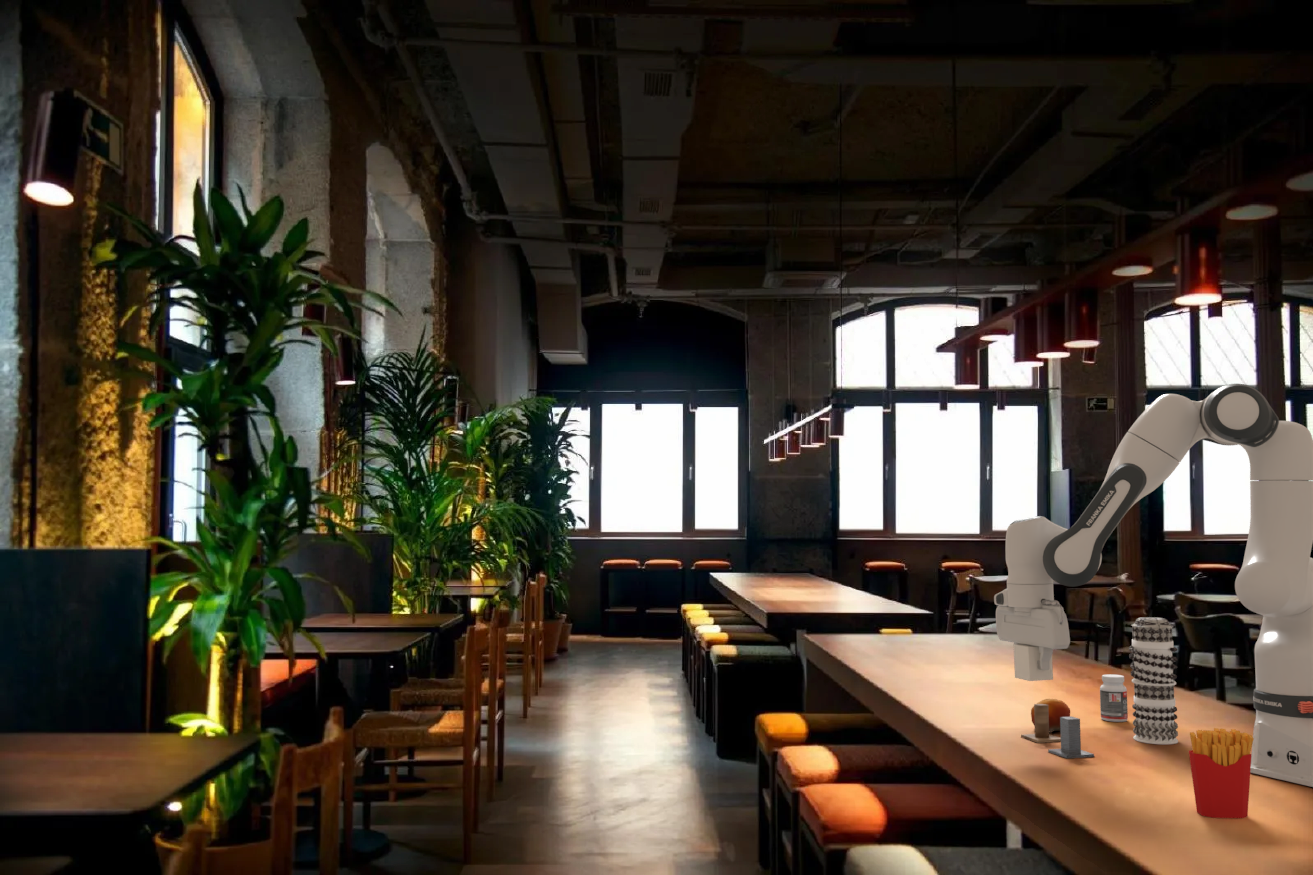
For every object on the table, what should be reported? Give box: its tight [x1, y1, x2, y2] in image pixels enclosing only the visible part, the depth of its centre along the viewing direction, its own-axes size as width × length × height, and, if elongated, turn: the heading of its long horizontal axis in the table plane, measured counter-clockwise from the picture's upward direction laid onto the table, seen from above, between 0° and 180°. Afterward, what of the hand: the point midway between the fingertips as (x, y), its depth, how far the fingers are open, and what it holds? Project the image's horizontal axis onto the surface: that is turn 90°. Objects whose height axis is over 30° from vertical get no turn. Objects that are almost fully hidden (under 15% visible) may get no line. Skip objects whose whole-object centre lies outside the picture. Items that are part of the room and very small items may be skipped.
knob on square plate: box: [1020, 703, 1061, 744], centre depth 228 cm, size 6×6×7 cm
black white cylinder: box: [1128, 616, 1179, 745], centre depth 228 cm, size 9×9×25 cm
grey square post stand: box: [1047, 715, 1095, 760], centre depth 214 cm, size 6×6×7 cm
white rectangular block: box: [1013, 643, 1054, 682], centre depth 219 cm, size 5×5×7 cm
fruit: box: [1030, 698, 1071, 735], centre depth 237 cm, size 8×8×8 cm
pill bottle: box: [1099, 673, 1129, 723], centre depth 249 cm, size 6×6×10 cm
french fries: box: [1188, 727, 1254, 819], centre depth 172 cm, size 9×4×13 cm, turn 85°
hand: (1033, 667), depth 219 cm, fingers closed on white rectangular block, 5 cm apart
